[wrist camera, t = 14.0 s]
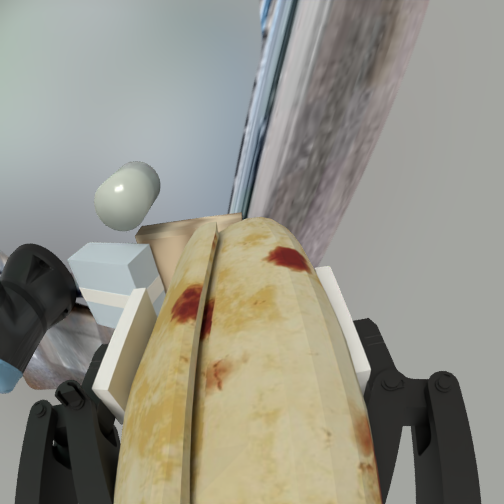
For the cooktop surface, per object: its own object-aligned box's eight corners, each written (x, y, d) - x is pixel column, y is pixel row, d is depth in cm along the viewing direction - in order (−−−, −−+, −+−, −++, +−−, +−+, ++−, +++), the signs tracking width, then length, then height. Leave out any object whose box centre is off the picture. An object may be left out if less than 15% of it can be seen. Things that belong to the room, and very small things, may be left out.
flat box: (114, 304, 48) (97, 324, 44) (88, 242, 42) (66, 259, 38) (173, 315, 44) (157, 338, 40) (149, 243, 38) (127, 265, 34)
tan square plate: (166, 305, 48) (163, 317, 45) (141, 226, 41) (134, 236, 38) (253, 297, 47) (254, 310, 45) (241, 212, 40) (241, 222, 38)
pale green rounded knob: (134, 215, 40) (118, 240, 34) (106, 179, 37) (84, 199, 31) (169, 190, 39) (157, 212, 33) (140, 151, 36) (121, 167, 30)
